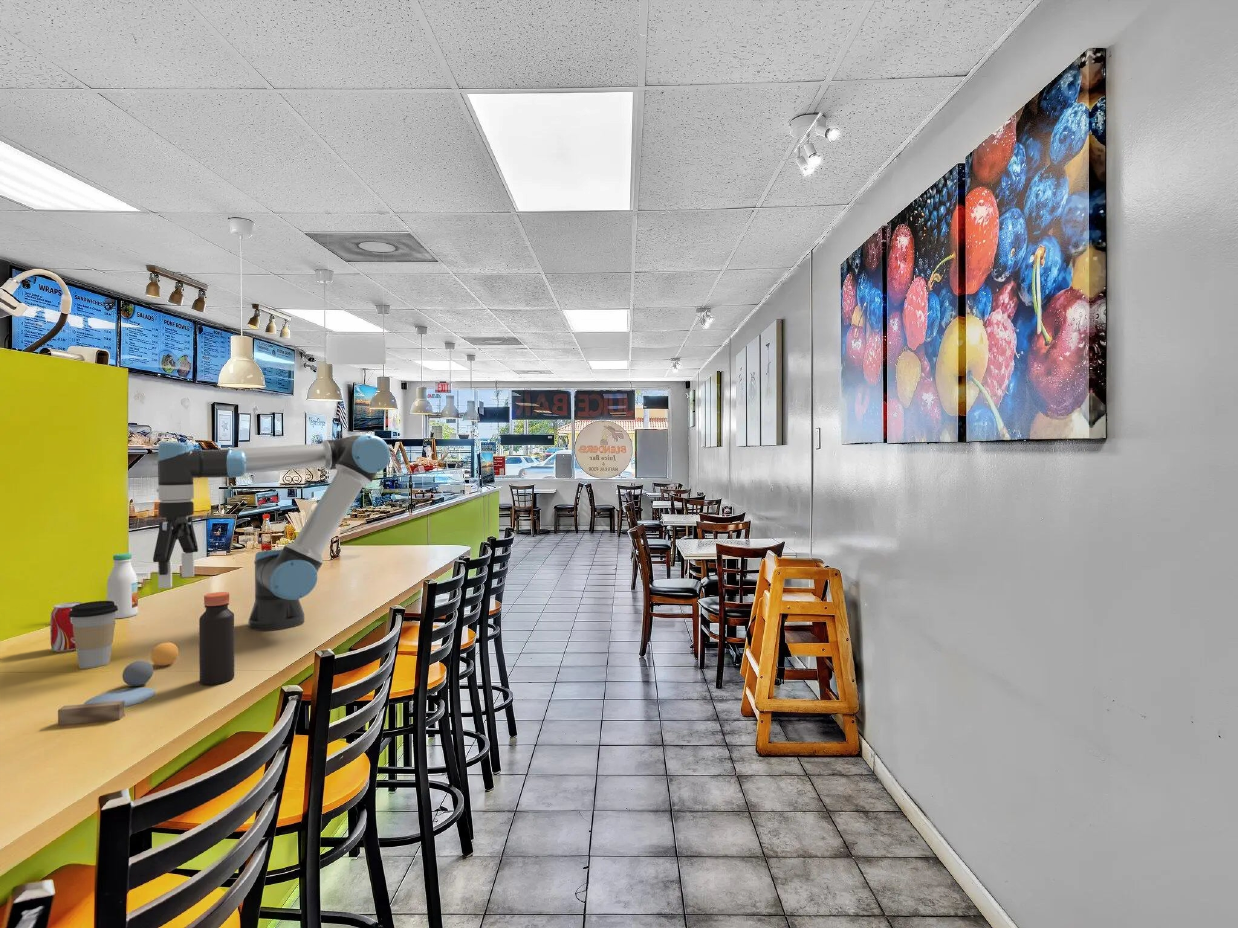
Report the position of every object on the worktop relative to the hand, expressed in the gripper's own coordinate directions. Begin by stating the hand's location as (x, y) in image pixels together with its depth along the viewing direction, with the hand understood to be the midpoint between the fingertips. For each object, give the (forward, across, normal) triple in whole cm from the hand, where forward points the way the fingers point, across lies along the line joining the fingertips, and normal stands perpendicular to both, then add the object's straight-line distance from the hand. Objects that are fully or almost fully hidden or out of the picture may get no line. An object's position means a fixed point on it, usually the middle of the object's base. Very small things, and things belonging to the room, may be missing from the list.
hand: (177, 581), depth 162 cm
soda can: (+19, -10, -29) cm, 36 cm away
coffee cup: (+19, +5, -16) cm, 25 cm away
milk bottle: (+19, -46, -33) cm, 60 cm away
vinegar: (+19, +25, +17) cm, 36 cm away
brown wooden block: (+19, +43, +2) cm, 47 cm away
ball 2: (+16, +10, +1) cm, 19 cm away
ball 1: (+16, +24, +1) cm, 29 cm away
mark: (+19, +32, +1) cm, 37 cm away
